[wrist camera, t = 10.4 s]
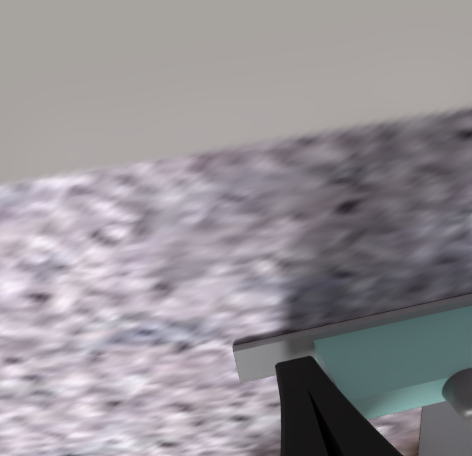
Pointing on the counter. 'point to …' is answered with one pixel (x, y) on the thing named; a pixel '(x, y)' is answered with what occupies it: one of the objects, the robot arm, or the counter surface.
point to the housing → (302, 342)
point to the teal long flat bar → (404, 364)
